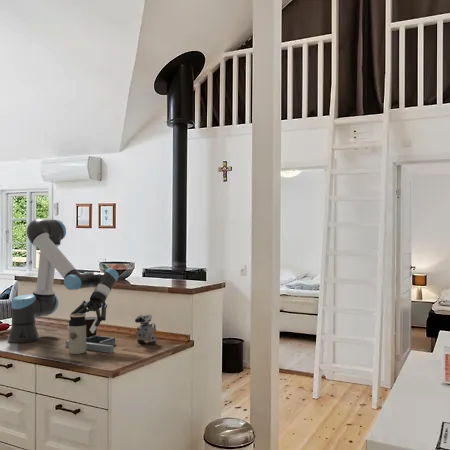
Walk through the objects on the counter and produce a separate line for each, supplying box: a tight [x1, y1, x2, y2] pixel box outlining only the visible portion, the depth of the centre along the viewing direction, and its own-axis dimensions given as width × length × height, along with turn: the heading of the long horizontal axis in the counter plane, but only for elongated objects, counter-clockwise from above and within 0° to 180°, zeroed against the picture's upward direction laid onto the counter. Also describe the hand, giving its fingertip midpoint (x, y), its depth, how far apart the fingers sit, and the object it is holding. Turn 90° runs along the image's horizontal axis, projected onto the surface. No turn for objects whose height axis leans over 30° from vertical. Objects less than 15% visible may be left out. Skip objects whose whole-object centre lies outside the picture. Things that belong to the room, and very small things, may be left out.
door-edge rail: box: [65, 339, 114, 354], centre depth 245 cm, size 28×2×3 cm, turn 65°
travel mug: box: [68, 313, 87, 355], centre depth 239 cm, size 8×8×18 cm
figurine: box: [134, 314, 157, 346], centre depth 257 cm, size 9×12×15 cm
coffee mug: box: [85, 316, 98, 338], centre depth 276 cm, size 12×9×10 cm
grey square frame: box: [86, 334, 116, 346], centre depth 252 cm, size 12×12×4 cm
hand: (80, 330), depth 239 cm, fingers open, 13 cm apart
